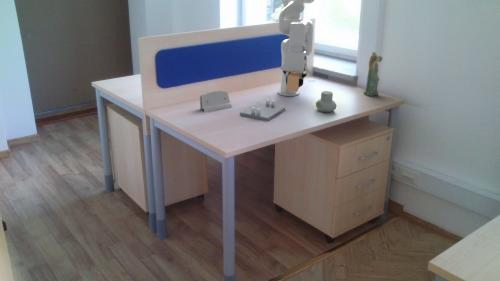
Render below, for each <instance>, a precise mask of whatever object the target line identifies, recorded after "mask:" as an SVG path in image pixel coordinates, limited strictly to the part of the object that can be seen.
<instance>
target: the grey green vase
mask: <svg viewBox="0 0 500 281" xmlns="http://www.w3.org/2000/svg"><path fill="white" fill-rule="evenodd" d="M333 95H334V94H333V92H332V91H329V90H323V91H321V94H320V99H318V100H317V101H316V102H315V107H316V109H317V110H318V111H319V112H321V113H331V112H333V111H335V110H336V109H337V103H336V102H335V101H334V100H333V98H334V97H333Z"/></svg>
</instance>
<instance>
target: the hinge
mask: <svg viewBox="0 0 500 281" xmlns="http://www.w3.org/2000/svg"><path fill="white" fill-rule="evenodd" d="M199 108H200V110H203V111H204V112H205V113H207V112H212V111H218V110H224V109H230V108H232V103H231V100H230V98H229V93H228V92H227V91H225V90H224V91H223V90H212V91H207V92H205V93H203V94H202V95H200V96H199Z"/></svg>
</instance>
